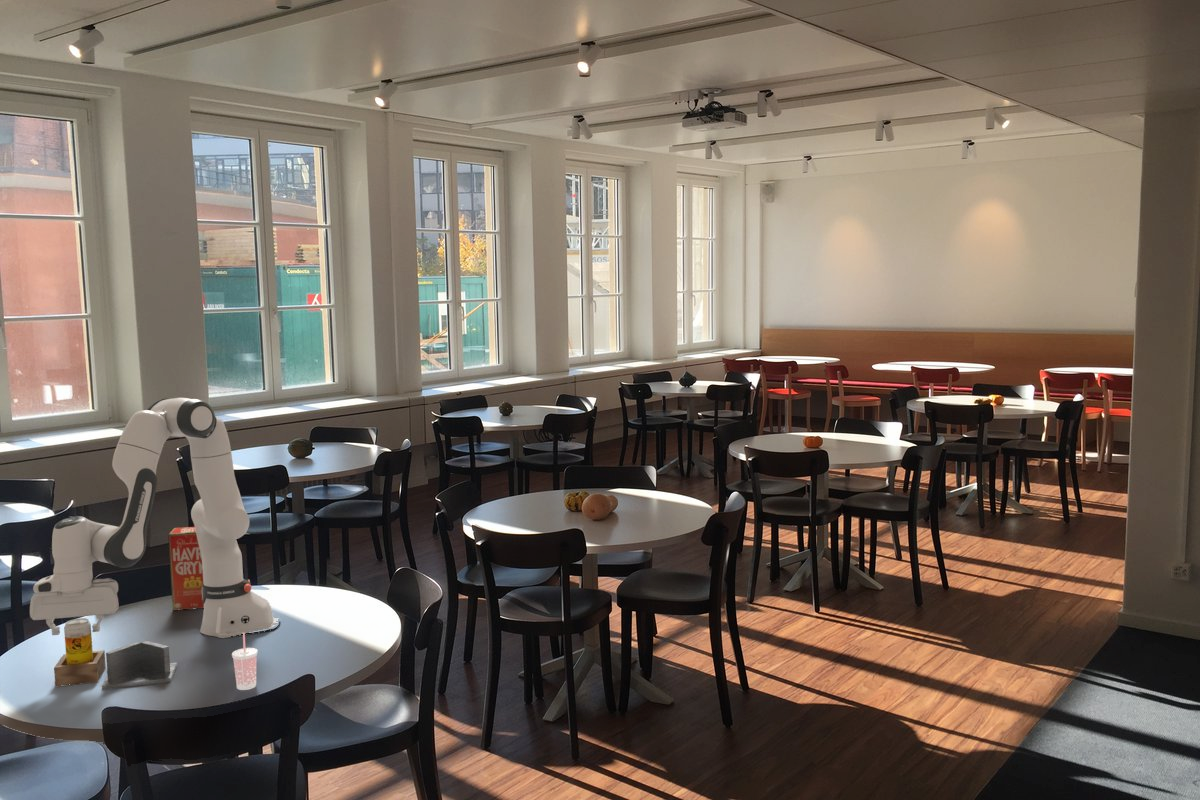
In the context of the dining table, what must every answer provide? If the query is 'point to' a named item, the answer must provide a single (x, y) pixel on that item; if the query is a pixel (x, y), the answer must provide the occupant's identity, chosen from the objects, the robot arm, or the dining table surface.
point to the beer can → (78, 641)
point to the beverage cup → (245, 667)
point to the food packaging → (185, 569)
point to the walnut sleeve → (80, 670)
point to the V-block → (138, 665)
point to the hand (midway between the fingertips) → (76, 632)
